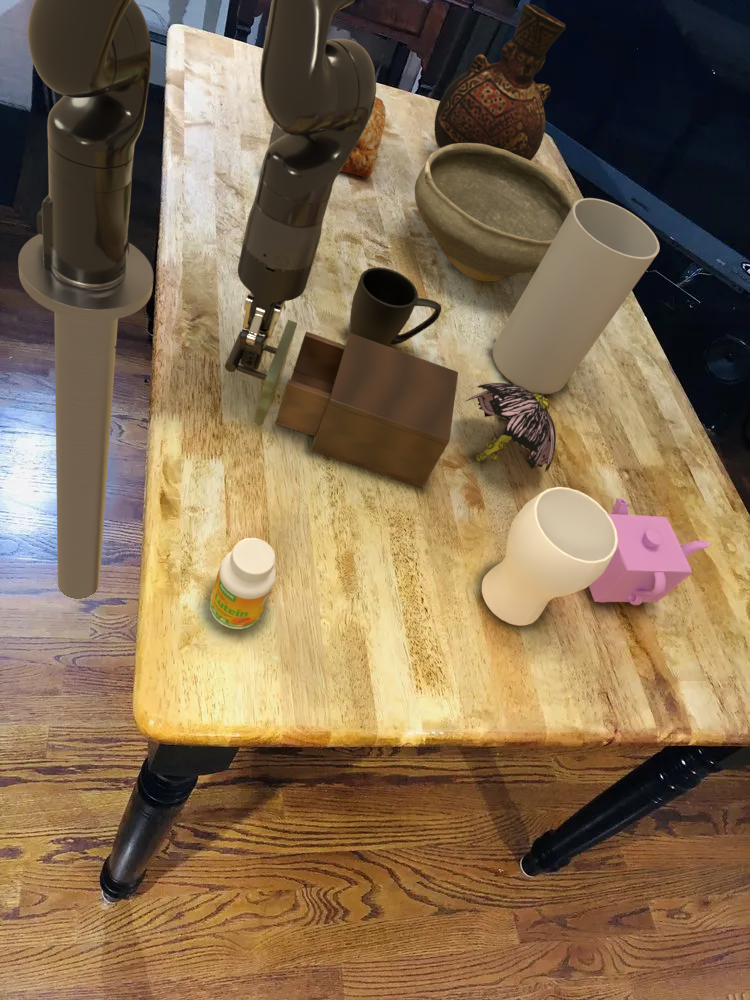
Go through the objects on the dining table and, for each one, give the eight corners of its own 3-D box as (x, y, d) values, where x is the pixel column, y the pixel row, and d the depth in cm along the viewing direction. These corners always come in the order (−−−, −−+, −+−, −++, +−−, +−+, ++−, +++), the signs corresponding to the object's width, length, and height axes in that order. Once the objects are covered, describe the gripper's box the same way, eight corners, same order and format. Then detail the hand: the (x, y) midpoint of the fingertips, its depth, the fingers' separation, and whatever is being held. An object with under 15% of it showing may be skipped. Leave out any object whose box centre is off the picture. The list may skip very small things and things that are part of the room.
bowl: (513, 221, 143) (549, 151, 132) (569, 321, 128) (615, 252, 118) (377, 201, 132) (404, 124, 121) (421, 308, 117) (456, 230, 107)
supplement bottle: (199, 616, 75) (214, 564, 68) (223, 575, 78) (239, 521, 71) (249, 639, 75) (269, 590, 68) (270, 597, 79) (291, 546, 71)
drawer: (212, 407, 90) (221, 363, 85) (238, 349, 98) (248, 304, 92) (359, 458, 93) (377, 418, 88) (373, 396, 100) (391, 356, 95)
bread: (368, 185, 134) (386, 131, 127) (267, 152, 130) (280, 94, 123) (373, 131, 147) (390, 79, 140) (281, 99, 143) (293, 44, 136)
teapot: (647, 533, 102) (691, 490, 95) (685, 620, 95) (737, 581, 88) (531, 528, 96) (570, 481, 89) (563, 621, 89) (608, 578, 81)
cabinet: (310, 450, 92) (329, 399, 86) (330, 383, 101) (349, 332, 94) (421, 488, 94) (449, 441, 88) (432, 419, 103) (458, 371, 96)
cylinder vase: (478, 337, 117) (557, 193, 99) (544, 339, 122) (631, 203, 104) (509, 396, 111) (599, 254, 92) (577, 396, 116) (675, 262, 97)
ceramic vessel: (421, 181, 141) (489, 9, 119) (416, 135, 152) (477, -32, 129) (523, 212, 147) (606, 52, 124) (511, 164, 157) (585, 9, 135)
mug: (419, 373, 108) (444, 322, 100) (338, 350, 105) (358, 296, 98) (420, 337, 113) (444, 285, 106) (343, 313, 110) (362, 259, 103)
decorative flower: (606, 439, 96) (523, 405, 88) (552, 508, 101) (468, 482, 93) (550, 381, 106) (471, 346, 98) (503, 447, 111) (425, 418, 103)
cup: (544, 563, 93) (609, 490, 82) (560, 642, 87) (634, 574, 76) (464, 552, 90) (521, 474, 79) (475, 632, 84) (539, 560, 73)
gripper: (261, 199, 83) (234, 321, 96) (228, 266, 74) (203, 389, 87) (326, 224, 84) (291, 341, 97) (301, 292, 75) (266, 410, 88)
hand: (250, 364), depth 92 cm, fingers closed
